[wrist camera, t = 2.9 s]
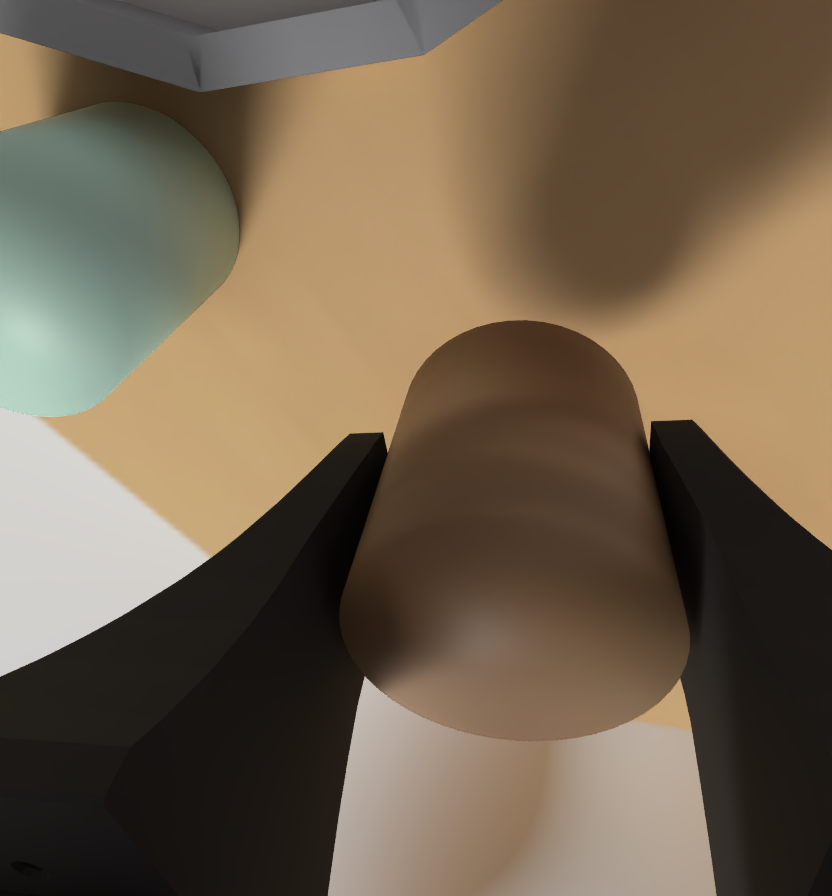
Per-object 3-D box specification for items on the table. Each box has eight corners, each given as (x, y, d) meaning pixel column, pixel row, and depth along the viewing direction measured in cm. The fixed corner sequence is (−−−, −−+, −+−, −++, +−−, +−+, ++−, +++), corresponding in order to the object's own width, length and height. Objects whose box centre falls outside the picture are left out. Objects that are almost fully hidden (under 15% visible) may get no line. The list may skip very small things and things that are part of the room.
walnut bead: (645, 310, 11) (708, 512, 7) (635, 513, 13) (676, 751, 9) (385, 329, 12) (302, 517, 8) (421, 516, 14) (373, 732, 10)
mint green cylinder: (200, 86, 13) (46, 135, 9) (263, 297, 15) (166, 410, 11) (11, 118, 14) (-206, 176, 10) (99, 312, 16) (-44, 422, 12)
